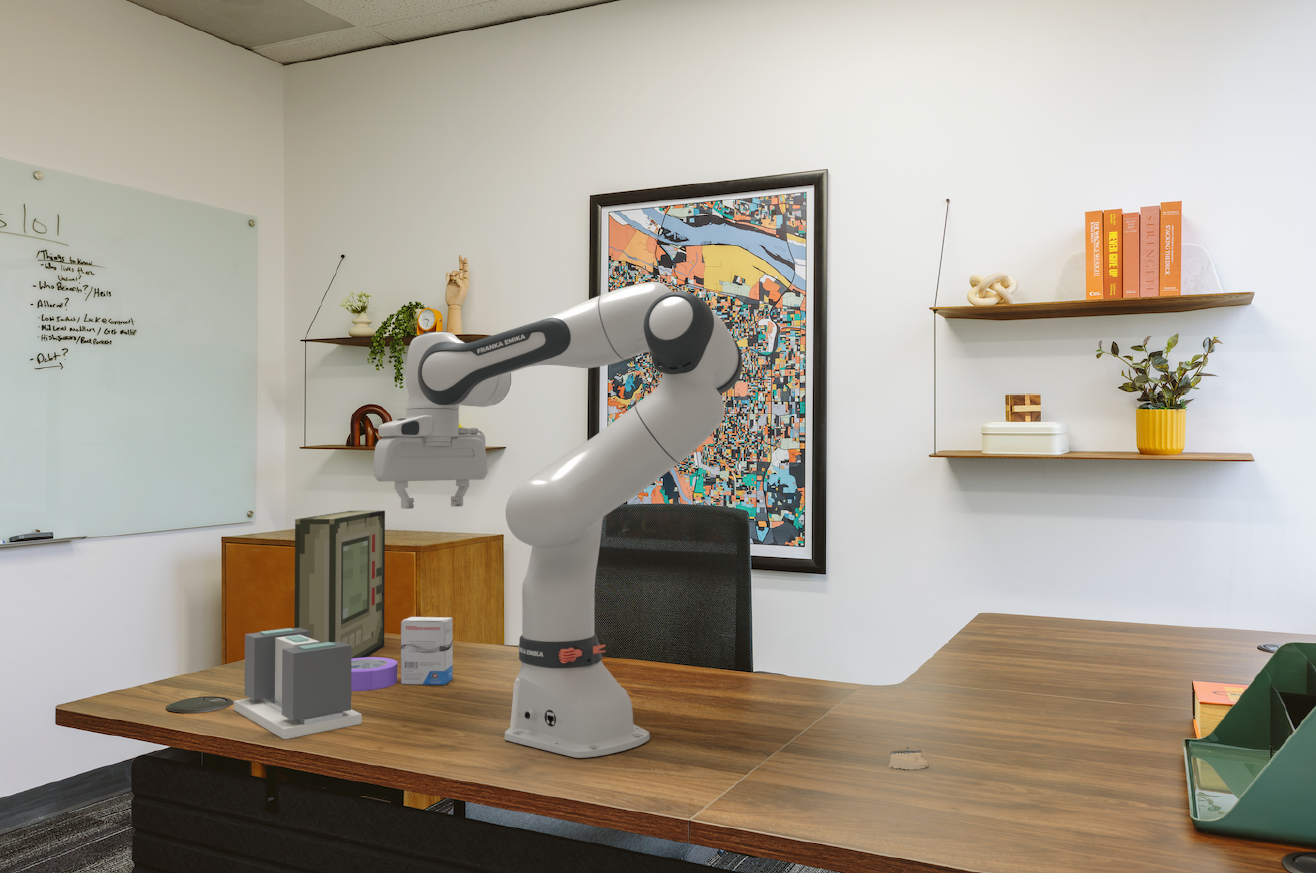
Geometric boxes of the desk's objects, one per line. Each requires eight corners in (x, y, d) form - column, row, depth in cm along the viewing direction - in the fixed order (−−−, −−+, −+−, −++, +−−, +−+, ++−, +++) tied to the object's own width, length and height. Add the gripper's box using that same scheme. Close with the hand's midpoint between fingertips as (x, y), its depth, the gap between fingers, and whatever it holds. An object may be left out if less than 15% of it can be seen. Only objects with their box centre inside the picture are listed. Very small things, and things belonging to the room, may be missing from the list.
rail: (343, 717, 143) (343, 712, 143) (304, 725, 139) (304, 719, 139) (288, 691, 159) (289, 686, 159) (252, 697, 155) (252, 692, 155)
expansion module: (299, 695, 154) (299, 633, 154) (319, 704, 148) (319, 640, 148) (274, 699, 151) (275, 636, 151) (293, 709, 145) (294, 643, 145)
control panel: (333, 678, 176) (334, 519, 176) (294, 678, 176) (295, 519, 176) (384, 646, 206) (384, 510, 206) (350, 646, 206) (351, 510, 206)
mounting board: (361, 723, 145) (361, 714, 145) (284, 739, 137) (284, 729, 137) (306, 697, 161) (306, 688, 161) (233, 709, 153) (234, 700, 153)
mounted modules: (351, 710, 145) (351, 643, 145) (293, 721, 139) (293, 651, 139) (298, 685, 160) (299, 625, 160) (244, 694, 154) (245, 632, 154)
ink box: (453, 679, 175) (454, 616, 175) (445, 685, 170) (445, 620, 170) (409, 678, 176) (410, 615, 176) (399, 684, 171) (400, 620, 171)
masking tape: (410, 683, 173) (410, 662, 173) (354, 695, 164) (354, 673, 164) (373, 674, 180) (373, 654, 180) (318, 685, 171) (318, 664, 171)
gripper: (475, 428, 169) (475, 504, 169) (369, 426, 156) (368, 509, 155) (494, 427, 165) (494, 505, 164) (386, 425, 151) (386, 510, 151)
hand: (432, 507), depth 160 cm, fingers open, 8 cm apart
